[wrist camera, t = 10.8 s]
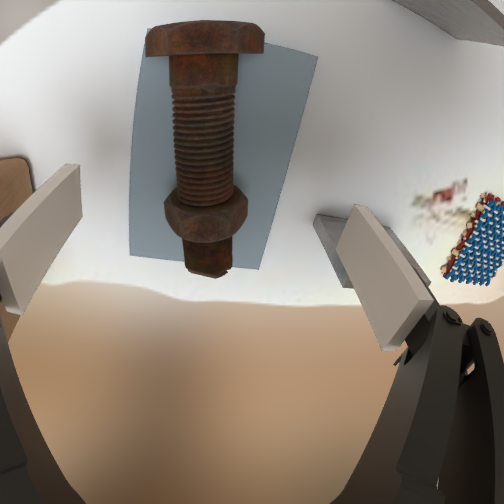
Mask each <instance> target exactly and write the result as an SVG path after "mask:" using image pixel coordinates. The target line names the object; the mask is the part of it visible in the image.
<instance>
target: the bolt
mask: <svg viewBox="0 0 504 504" xmlns="http://www.w3.org/2000/svg"><path fill="white" fill-rule="evenodd" d="M264 36H265V33H264V32H263V31H262V30H261V28H260V27H259V26H257V25H256V24H253V23H247V22H237V21H212V20H200V21H189V22H179V23H172V24H166V25H161V26H155V27H153V28H152V29H151V30H150V31H149V32H148V34H147V35H146V37H145V57H146V58H147V57H159V56H169V86H170V87H171V92H172V93H173V95H172V96H171V97H172V98H173V99H174V101H172V104H173V105H174V107H173V108H172V110H173V111H174V112H175V113H173V115H172V117H174V118H175V119H174V120H173V121H172V122H173V124H175V125H174V126H173V130H174V133H173V136H174V137H175V138H174V139H173V142H174V143H175V144H174V148H175V150H174V153H175V156H174V158H175V160H176V161H175V165H176V168H175V169H176V171H177V172H176V177H177V179H176V180H177V188H175V189H174V190H173V191H172V192H171V193H170V194H169V195H168V197H167V198H166V200H165V201H164V210H165V218H166V220H167V222H168V224H169V226H170V227H171V229H172V230H173V231H174V233H175V234H176V235H177V236H179V237H181V238H182V242H183V250H184V260H185V266H186V268H187V269H188V271H189V272H191V273H194V274H198V275H202V276H207V277H211V278H219V277H221V276H223V275H225V274H226V273H228V272H227V271H226V270H229V269H231V267H232V264H233V255H232V249H233V247H232V244H233V242H232V238H233V235H234V234H235V233H236V232H237V231H238V230H239V229H240V228H241V226H242V225H243V223H244V221H245V220H246V218H247V216H248V199H247V197H246V196H245V195H244V193H243V192H242V191H241V190H240V189H239V188H238V187H237V186H235V185H233V180H234V179H233V175H234V174H233V170H234V168H233V165H234V162H233V159H234V156H233V154H234V150H233V148H234V144H233V142H234V138H233V136H234V132H233V130H234V126H233V124H234V120H233V119H234V117H235V114H233V113H234V112H235V108H234V106H235V102H234V101H233V100H235V96H234V95H233V94H234V93H235V92H236V85H237V83H238V59H239V53H248V54H263V53H264Z"/></svg>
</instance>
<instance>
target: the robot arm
mask: <svg viewBox="0 0 504 504" xmlns="http://www.w3.org/2000/svg"><path fill="white" fill-rule="evenodd" d="M81 218H82V204H81V188H80V165H74V164H65V165H64V166H63V167H62V168H61V169H60V170H58V171H57V172H56V173H55V174H54V175H53V176H52V177H50V178H49V179H48V180H47V181H46V182H45V183H44V184H43V185H42V186H41V187H40V188H39V189H37V190H36V191H35V192H34V193H33V194H32V195H31V196H30V197H29V198H28V199H27V200H26V201H25V202H24V203H23V204H22V205H21V206H20V207H19V208H18V209H17V210H16V211H15V212H12V213H11V214H9V215H7V216H6V217H4V218H3V219H2V220H1V221H0V302H1V300H2V301H3V303H4V306H5V308H6V310H7V312H11V313H15V314H19V315H23V314H24V312H25V310H26V308H27V306H28V304H29V303H30V301H31V299H32V297H33V295H34V293H35V291H36V290H37V287H38V286H39V284H40V283H41V281H42V279H43V277H44V276H45V274H46V272H47V270H48V269H49V267H50V265H51V264H52V262H53V261H54V259H55V257H56V256H57V254H58V253H59V251H60V249H61V248H62V246H63V245H64V243H65V242H66V240H67V239H68V237H69V236H70V234H71V233H72V231H73V230H74V228H75V227H76V225H77V224H78V222H79V221H80V220H81ZM336 251H337V253H338V256H339V258H340V260H341V262H342V264H343V266H344V268H345V270H346V272H347V274H348V276H349V278H350V280H351V282H352V285H353V287H354V289H355V291H356V293H357V295H358V298H359V300H360V302H361V304H362V306H363V309H364V311H365V313H366V315H367V318H368V320H369V322H370V324H371V327H372V329H373V331H374V333H375V336H376V338H377V341H378V343H379V345H380V348H381V350H382V351H390V350H397V349H398V348H399V347H400V345H401V344H402V343H403V342H404V340H405V341H406V343H407V345H408V347H407V348H406V350H405V351H404V352H403V353H402V354H401V356H400V357H399V358H398V359H397V360H396V361H395V363H394V364H393V365H395V366H396V365H397V363H399V362H400V364H399V367H398V370H397V373H396V376H395V379H394V381H393V384H392V387H391V389H390V392H389V395H388V397H387V400H386V402H385V405H384V407H383V410H382V412H381V414H380V417H379V419H378V422H377V424H376V426H375V428H374V431H373V433H372V435H371V437H370V440H369V442H368V444H367V446H366V448H365V450H364V452H363V454H362V456H361V458H360V460H359V462H358V464H357V466H356V468H355V469H354V471H353V473H352V475H351V477H350V479H349V480H348V483H347V484H346V486H345V488H344V489H343V491H342V492H341V494H340V495H339V496H338V497H337V498H336V499H335V500H333V501H332V502H331V503H330V504H504V363H503V359H502V355H501V351H500V348H499V345H498V341H497V337H496V334H495V331H494V329H493V328H492V326H491V324H490V323H488V321H485V320H484V319H482V318H476V319H475V321H474V322H473V323H472V324H471V325H470V326H469V325H466V324H463V323H462V320H461V318H460V316H459V315H458V314H457V313H456V312H455V311H454V310H453V309H451V308H449V307H447V306H443V305H442V306H440V305H439V303H438V302H437V300H436V299H435V297H434V295H433V294H432V292H431V291H430V289H429V288H428V286H426V283H425V282H424V280H423V279H421V278H422V277H421V276H420V274H419V273H418V272H417V270H416V269H415V268H414V267H413V266H412V265H411V264H410V263H409V262H408V261H407V259H406V258H405V256H404V255H403V254H402V252H401V251H400V250H399V248H398V247H397V245H396V244H395V243H394V241H393V240H392V239H391V237H390V236H389V235H388V233H387V232H386V231H385V229H384V228H383V227H382V225H381V224H380V223H379V221H378V220H377V219H376V218H375V216H374V215H373V214H372V213H371V211H370V210H369V209H368V208H367V207H365V206H360V205H356V204H354V206H353V209H352V211H351V214H350V216H349V218H348V221H347V223H346V226H345V228H344V231H343V233H342V235H341V238H340V240H339V242H338V245H337V247H336ZM473 363H474V364H475V368H474V370H473V371H472V372H471V373H470V374H469V375H468V374H467V369H468V368H469V367H470V366H471V365H472V364H473ZM438 478H439V482H438V489H437V486H436V485H437V481H438ZM0 504H86V503H85V502H84V501H83V499H82V498H81V497H80V496H79V494H78V493H77V492H76V491H75V490H74V489H73V488H72V487H71V486H70V484H69V483H68V481H67V480H66V478H65V477H64V475H63V473H62V472H61V470H60V468H59V466H58V465H57V463H56V461H55V459H54V457H53V456H52V454H51V452H50V450H49V448H48V446H47V444H46V442H45V440H44V438H43V436H42V434H41V432H40V430H39V428H38V425H37V423H36V421H35V419H34V416H33V414H32V412H31V409H30V407H29V405H28V402H27V400H26V397H25V394H24V392H23V389H22V386H21V384H20V381H19V378H18V375H17V373H16V369H15V366H14V363H13V360H12V356H11V353H10V350H9V346H8V342H7V339H6V335H5V331H4V327H3V323H2V318H1V314H0Z"/></svg>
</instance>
